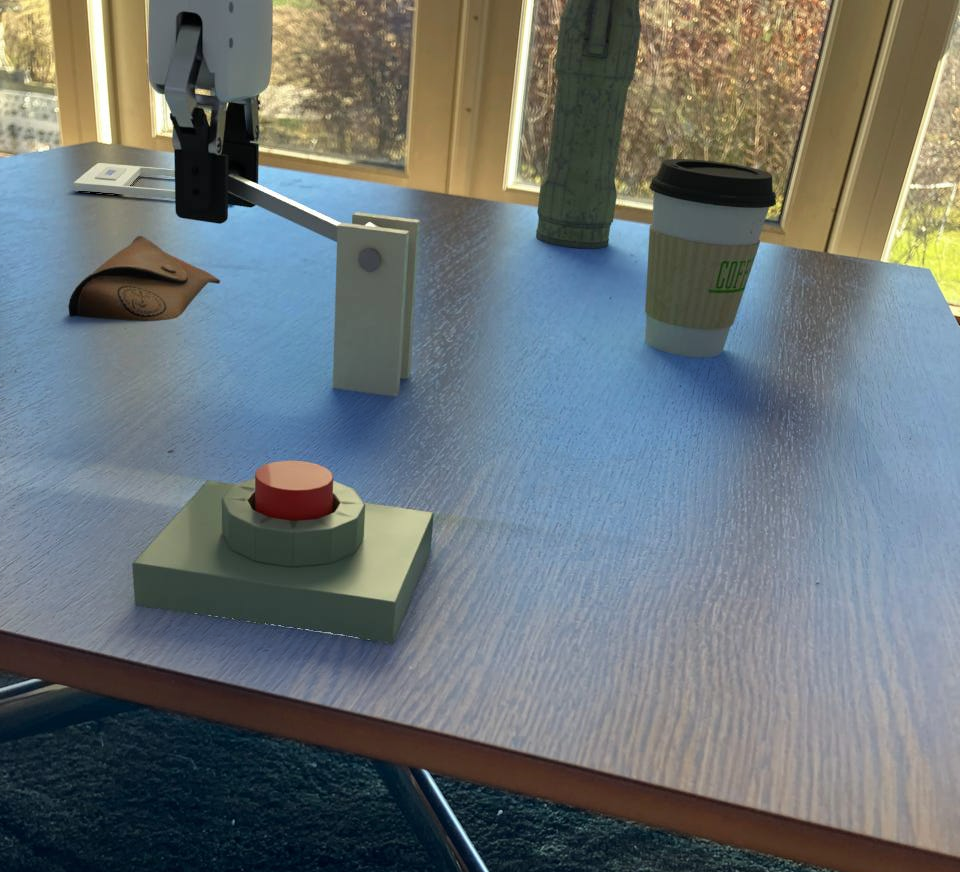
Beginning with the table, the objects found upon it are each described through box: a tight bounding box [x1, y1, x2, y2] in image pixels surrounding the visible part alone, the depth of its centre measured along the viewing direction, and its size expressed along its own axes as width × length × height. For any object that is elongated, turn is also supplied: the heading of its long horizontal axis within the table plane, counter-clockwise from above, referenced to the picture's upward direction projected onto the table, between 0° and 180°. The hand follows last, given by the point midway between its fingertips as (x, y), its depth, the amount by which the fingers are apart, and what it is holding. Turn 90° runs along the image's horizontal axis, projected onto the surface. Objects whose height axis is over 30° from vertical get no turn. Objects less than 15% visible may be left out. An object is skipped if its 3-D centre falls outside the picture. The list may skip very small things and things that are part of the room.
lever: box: [228, 161, 379, 243], centre depth 73 cm, size 13×6×2 cm, turn 82°
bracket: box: [332, 211, 421, 398], centre depth 76 cm, size 10×8×12 cm
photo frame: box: [73, 162, 175, 200], centre depth 137 cm, size 15×1×18 cm
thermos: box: [535, 0, 642, 250], centre depth 125 cm, size 9×12×35 cm
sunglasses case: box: [67, 235, 221, 322], centre depth 92 cm, size 18×7×7 cm
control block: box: [131, 477, 435, 645], centre depth 54 cm, size 12×10×4 cm
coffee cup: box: [644, 158, 777, 358], centre depth 91 cm, size 10×10×15 cm
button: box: [254, 460, 334, 521], centre depth 53 cm, size 4×4×2 cm
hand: (218, 208), depth 74 cm, fingers closed on lever, 5 cm apart
